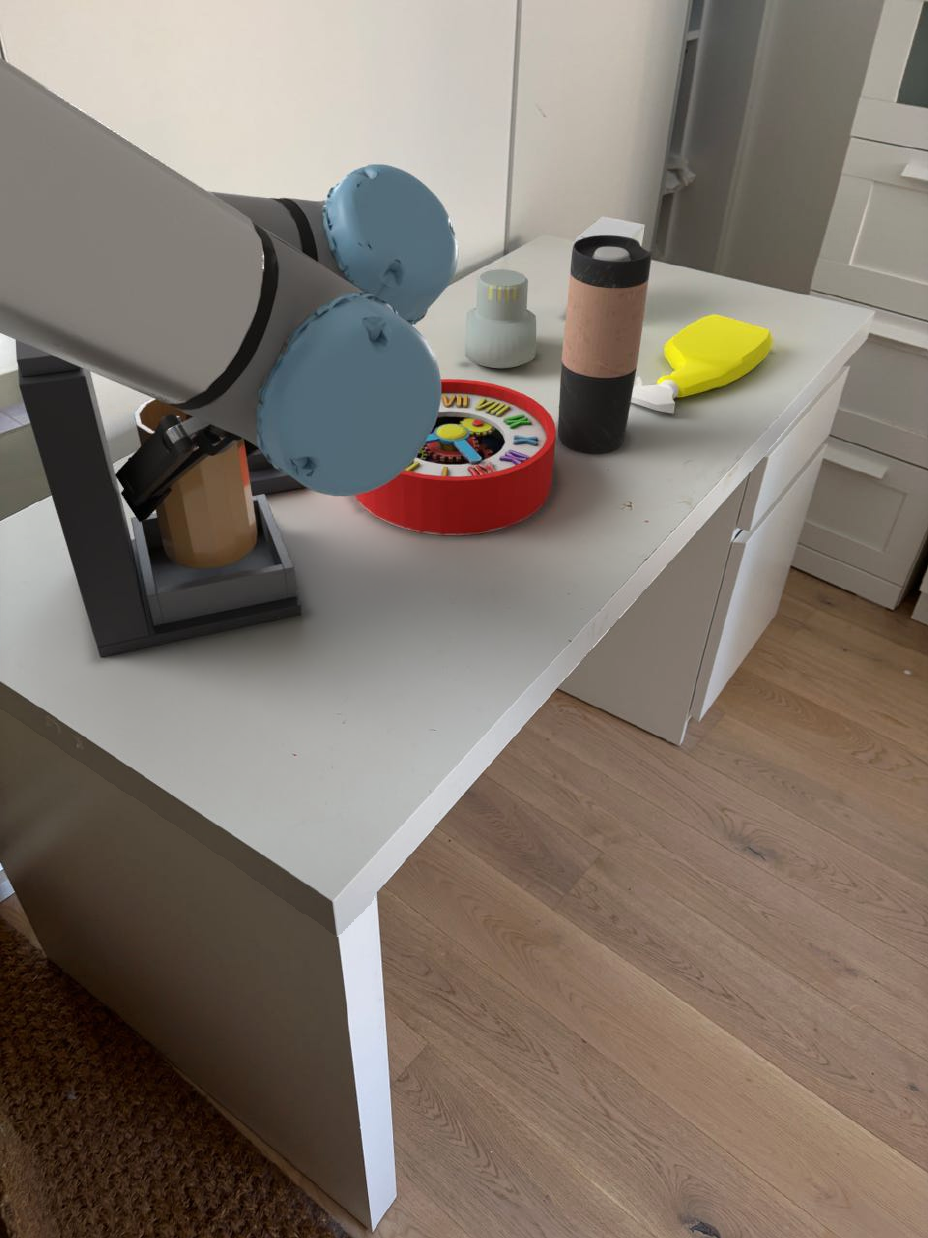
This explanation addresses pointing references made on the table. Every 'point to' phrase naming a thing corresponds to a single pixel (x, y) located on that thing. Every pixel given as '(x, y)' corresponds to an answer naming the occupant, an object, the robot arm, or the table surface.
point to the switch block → (268, 476)
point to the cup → (204, 502)
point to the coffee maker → (137, 531)
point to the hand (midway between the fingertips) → (177, 485)
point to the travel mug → (601, 341)
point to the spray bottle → (705, 360)
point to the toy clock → (473, 465)
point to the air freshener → (501, 321)
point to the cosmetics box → (614, 229)
